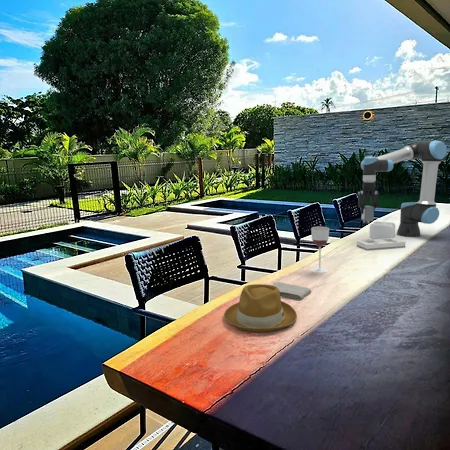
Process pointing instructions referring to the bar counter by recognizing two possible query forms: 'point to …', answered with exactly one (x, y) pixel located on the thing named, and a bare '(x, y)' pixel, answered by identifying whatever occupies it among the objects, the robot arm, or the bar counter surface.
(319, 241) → the wineglass
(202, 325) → the bar counter surface
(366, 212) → the plug
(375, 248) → the socket plate
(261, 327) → the fedora
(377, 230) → the cable organizer
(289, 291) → the washcloth
